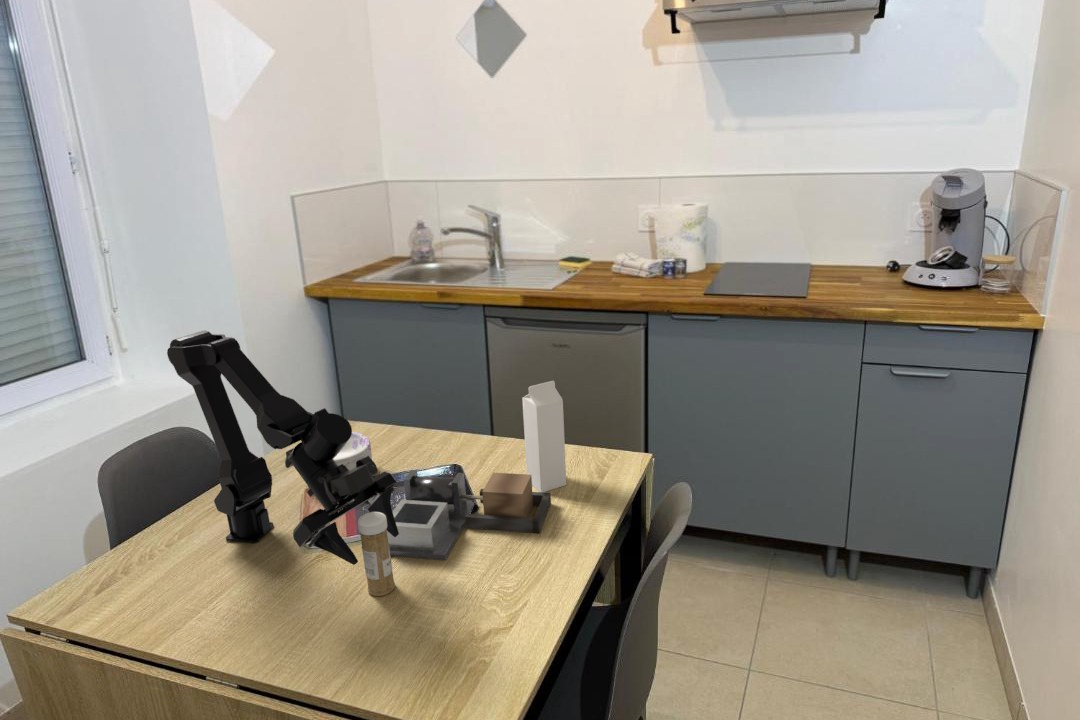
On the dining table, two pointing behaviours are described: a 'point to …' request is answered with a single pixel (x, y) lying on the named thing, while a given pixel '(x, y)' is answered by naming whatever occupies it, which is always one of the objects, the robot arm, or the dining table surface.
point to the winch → (430, 516)
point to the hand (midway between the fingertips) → (377, 549)
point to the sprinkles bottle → (376, 553)
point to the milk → (544, 436)
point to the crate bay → (510, 505)
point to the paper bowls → (354, 451)
